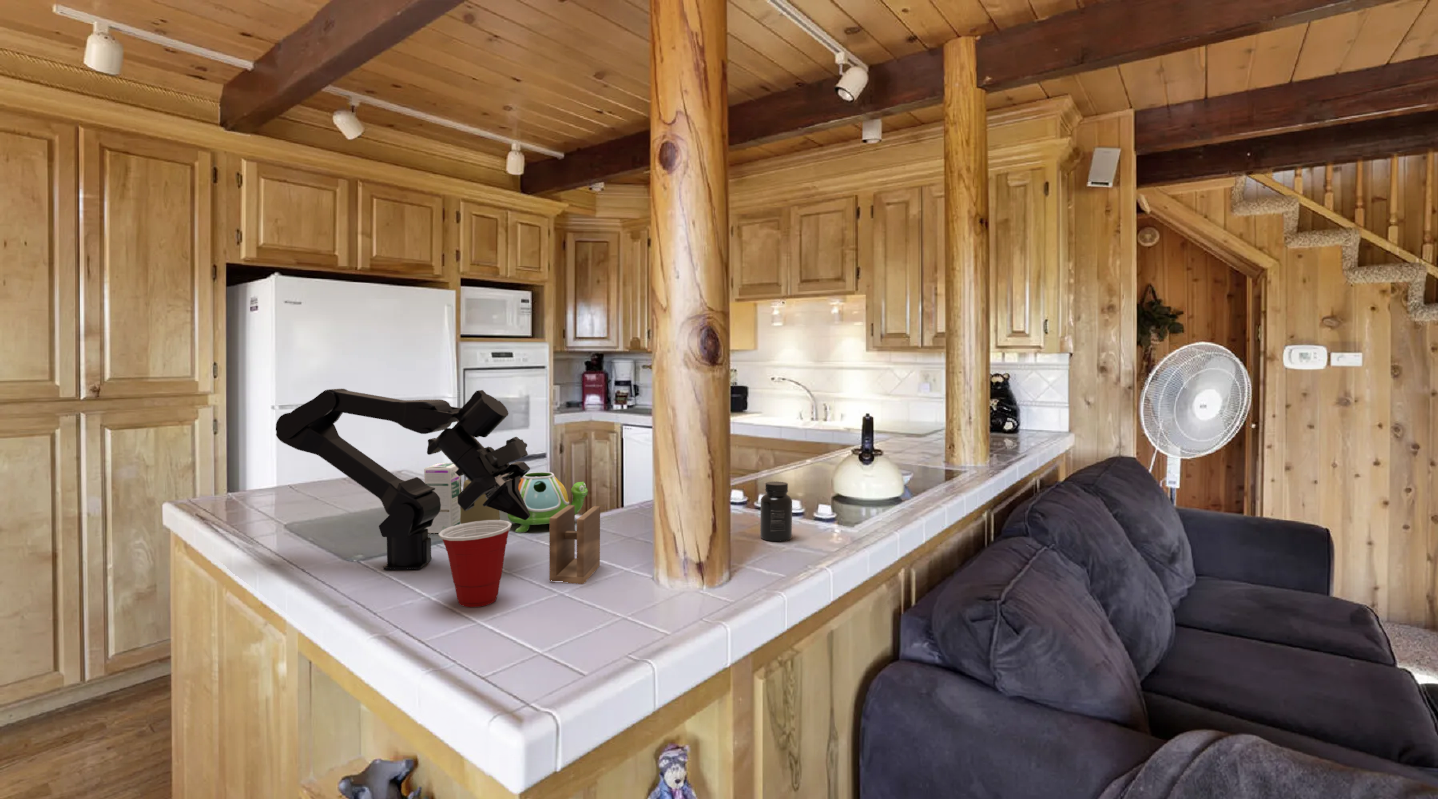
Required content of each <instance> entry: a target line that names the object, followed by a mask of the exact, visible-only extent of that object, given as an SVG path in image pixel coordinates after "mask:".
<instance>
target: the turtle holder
mask: <svg viewBox="0 0 1438 799" xmlns="http://www.w3.org/2000/svg"><path fill="white" fill-rule="evenodd" d="M518 488H519V492H520V494H521V496H522V498H523V500H524V502H525V505H526V507H527V509H528V511H529V513H530V515H531V516H530V517H529V518H528V519H527V520H523V519H520V518H518V517H515V516H513V515H510V514H508V513H507V519H508V521H509V522H510V523H515V524H520V525H519V527H517V528H516V529H515V530H514V531H515V532H516V533H526V532H528V530H529V529H530V527H531V526H532V525H534V526H535V525H547V524H548V525H549V518H550V517H552V516H553V515H555V514H556V513H558V512H559V511H561V510H562V509H564V508H565V507H566V506H568V505H575V516H576V515H577V514H578V513H580V510H581V509H582V507H583V505H584V502H585V501H584V500H585V497H587V495H588V494H589V493H588V492H589V491H588V487H587V485H586V483H585V481H577V482H575V483H574V484H573V486H572V487H571V489H570V492H571V495H572V501H571V503H570V501H569V496H568V495H569V494H568V492H567V489H566V487H565V485H564V484H563V483H562V482H561V481H560V480H559V479H558V478H557V477H556V476H555V473H553V472H551V471H532V472H530V471H529V472H527V473H526V474H525V475H524V476H523V477H522V478H521V479H520V480H519V487H518Z"/></svg>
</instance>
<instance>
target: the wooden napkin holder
mask: <svg viewBox="0 0 1438 799" xmlns="http://www.w3.org/2000/svg"><path fill="white" fill-rule="evenodd" d="M575 517H576V515H575V505H571V504H569V505H568V506H566V507H565V508H564V509H562V510H561V511H559V512H558V513H556V514H555V515H553V516H552V517H550V518H549V524H548V525H549V530H548V531H549V533H548V534H549V535H548V537H549V540H548V541H549V552H548V553H549V554H548V555H549V563H548V564H549V565H548V566H549V571H548V573H549V580H550V581H551V580H552V581H563V582H568V583H567V584H574V583H576V585H578V584H579V585H584V584H585V583H586V582H587V581H588V580H589V578H590V577H591V576H592V575H593V574H594V573H595V572H596V571H597V569H598V568H599V567H601V565H600V564H601V506H598V505H594V506H592V507H591V508H590V509H588V510H587V511H585V513H582V515H581V516H579V517H578V518H577V519H575ZM575 520H576V521H575ZM575 522H576V523H575ZM575 525H576V526H575ZM575 528H576V529H575ZM575 540H576V541H575ZM575 545H576V546H575ZM575 547H576V550H575ZM575 551H576V552H575ZM575 554H576V555H575ZM575 556H576V558H575ZM577 583H578V584H577Z"/></svg>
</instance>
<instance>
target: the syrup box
mask: <svg viewBox="0 0 1438 799" xmlns="http://www.w3.org/2000/svg"><path fill="white" fill-rule="evenodd" d="M457 470H458V468H457V467H456V466H455V465H454V464H453V463H452V462H440V463H434V464H433V465H429V466H427V467H425V468H423V471H424V473H423V475H424V483H425V484H427V485H428V486H430V487H433V488H435V490H433V491H434V492H435V493H436V494H437V495H438V496H439V497H440V503H441V508H440V512H439V514H438V515H437V516H436V517H435V518H434V520H433V523H432V526H430V527H427V528H425V529H428V534H431V533H440V532H441V531H442V530H444V529H447V528H449V527H452V526H456V525H459V524H461V523H460V515H461V506H460V505H459V504H458V495H459V494H460V493H461V492H462V475H461V476H458V475H457V474H456V473H455V472H456V471H457Z"/></svg>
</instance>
